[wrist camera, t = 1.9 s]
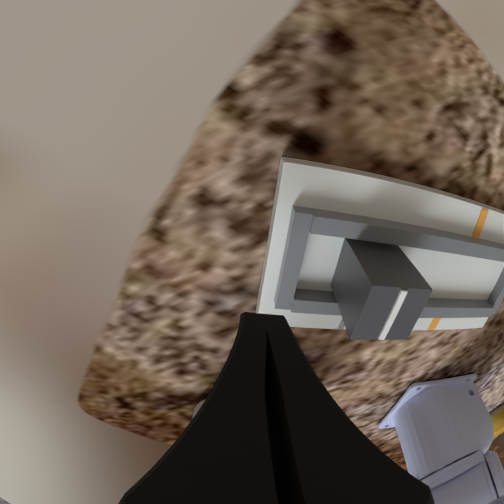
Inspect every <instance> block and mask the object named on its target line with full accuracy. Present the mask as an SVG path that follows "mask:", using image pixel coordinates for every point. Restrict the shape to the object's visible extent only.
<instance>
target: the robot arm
mask: <svg viewBox="0 0 504 504" xmlns="http://www.w3.org/2000/svg"><path fill="white" fill-rule="evenodd" d="M476 378H477V375H476V374H470V375H464V376H459V377H453V378H447V379H441V380H434V381H426V382H419V383H414V384H412V385H410V386H409V388H408V389H407V390H406V392H405V393H404V394H403V396H402V397H401V398H400V399H399V401H398V402H397V403H396V404H395V406H394V407H393V408H392V409H391V410H390V412H389V413H388V414H387V415H386V416H385V417H384V419H383V420H382V421H381V422H380V423H379V424H378V428H379V429H383V428H390V427H396V430H397V434H398V437H399V440H400V444H401V447H402V450H403V454H404V457H405V461H406V465H407V468H408V472H409V473H408V472H407V471H405V470H404V469H403V468H401V467H400V466H399V465H397V464H396V463H395V462H394V461H393V460H391V459H390V458H389V457H388V456H386V455H385V454H384V453H383V452H382V451H381V450H380V449H379V448H378V447H377V446H376V445H375V444H373V443H372V442H371V441H370V440H369V439H368V438H367V437H366V436H365V435H364V434H363V433H362V432H361V431H360V430H359V429H358V428H357V427H356V426H355V424H354V423H353V422H352V421H351V420H350V419H349V418H348V417H347V415H346V414H345V413H344V412H343V411H342V409H341V408H340V407H339V406H338V404H337V403H336V402H335V400H334V399H333V398H332V396H331V395H330V394H329V392H328V391H327V389H326V388H325V387H324V385H323V384H322V382H321V381H320V379H319V378H318V376H317V375H316V373H315V372H314V370H313V368H312V367H311V365H310V363H309V362H308V360H307V358H306V357H305V355H304V353H303V351H302V350H301V348H300V346H299V344H298V342H297V340H296V338H295V336H294V334H293V332H292V330H291V328H290V326H289V324H288V322H287V320H286V318H285V317H284V315H273V314H261V313H249V312H244V313H242V314H241V315H240V323H239V329H238V332H237V336H236V339H235V341H234V344H233V347H232V349H231V351H230V354H229V356H228V359H227V361H226V363H225V365H224V367H223V369H222V371H221V373H220V375H219V377H218V379H217V381H216V383H215V385H214V386H213V388H212V390H211V391H210V393H209V395H208V396H207V398H206V400H205V401H204V403H203V404H202V406H201V407H200V409H199V411H198V412H197V414H196V415H195V416H194V418H193V419H192V420H191V422H190V423H189V425H188V426H187V427H186V429H185V430H184V431H183V433H182V434H181V435H180V437H179V438H178V439H177V440H176V441H175V443H174V444H173V445H172V446H171V447H170V448H169V450H168V451H167V452H166V453H165V454H164V455H163V456H162V457H161V459H160V460H159V461H158V462H157V463H156V464H155V465H154V466H153V467H152V469H150V470H149V471H148V472H147V473H146V474H145V475H144V476H143V477H142V478H141V479H140V480H139V481H138V482H137V483H136V484H135V485H134V486H132V487H131V488H130V489H129V490H128V491H127V492H126V493H125V494H124V496H123V497H122V499H121V500H120V502H119V504H504V470H503V467H502V465H501V462H500V459H499V457H498V454H497V452H492V451H488V452H487V453H485V452H486V451H487V450H488V449H489V447H490V445H491V443H492V440H493V435H494V426H493V422H492V419H491V417H490V415H489V413H488V410H487V408H486V406H485V404H484V402H483V400H482V398H481V396H480V394H479V392H478V390H477V388H476V386H475V385H474V383H473V382H474V380H475V379H476ZM484 453H485V455H486V457H485V455H484ZM486 458H487V460H486ZM487 461H488V463H487ZM0 504H9V503H8V502H6V501H5V500H3V499H2V498H0Z"/></svg>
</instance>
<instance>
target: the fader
mask: <svg viewBox="0 0 504 504" xmlns="http://www.w3.org/2000/svg"><path fill="white" fill-rule="evenodd" d="M331 288H332V290H333V293H334V296H335V299H336V302H337V304H338V307H339V310H340V313H341V316H342V319H343V322H344V324H345V327H346V330H347V333H348V336H349V339H354V340H396V339H407V338H408V336H409V335H410V333H411V331H412V329H413V328H414V326H415V324H416V322H417V320H418V318H419V316H420V314H421V313H422V311H423V309H424V307H425V305H426V303H427V301H428V299H429V297H430V295H431V293H432V290H433V289H432V288H431V287H430V285H429V284H428V283H427V281H426V280H425V279H424V278H423V276H422V275H421V274H420V272H419V271H418V270H417V268H416V267H415V266H414V265H413V263H412V262H411V261H410V260H409V258H408V257H407V256H406V255H405V253H404V252H403V251H402V250H401V249H400V247H399V246H398V245H393V244H385V243H378V242H371V241H364V240H356V239H349V238H344V241H343V245H342V249H341V252H340V255H339V259H338V262H337V266H336V269H335V272H334V275H333V279H332V282H331Z"/></svg>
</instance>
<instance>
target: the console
mask: <svg viewBox="0 0 504 504" xmlns="http://www.w3.org/2000/svg"><path fill="white" fill-rule="evenodd" d="M344 238H349V239H356V240H364V241H371V242H378V243H385V244H393V245H398V246H399V247H400V249H401V250H402V251H403V252H404V253H405V255H406V256H407V257H408V258H409V260H410V261H411V262H412V263H413V265H414V266H415V267H416V268H417V270H418V271H419V272H420V274H421V275H422V276H423V278H424V279H425V280H426V281H427V283H428V284H429V285H430V287H431V288H432V289H433V290H432V293H431V295H430V297H429V299H428V301H427V303H426V305H425V307H424V309H423V311H422V313H421V314H420V316H419V318H418V320H417V322H416V324H415V326H414V328H413V329H412V330H445V329H468V328H482V327H483V326H484V324H485V322H486V321H487V319H488V317H490V315H494V314H495V312H496V310H497V309H498V307H499V305H500V303H501V302H502V300H503V298H504V211H503V210H500V209H498V208H495V207H492V206H489V205H486V204H483V203H480V202H477V201H474V200H471V199H468V198H465V197H462V196H459V195H455V194H452V193H449V192H445V191H442V190H438V189H435V188H431V187H428V186H424V185H420V184H416V183H412V182H409V181H405V180H401V179H396V178H392V177H388V176H384V175H379V174H375V173H370V172H366V171H361V170H356V169H351V168H346V167H341V166H336V165H330V164H325V163H319V162H313V161H307V160H301V159H295V158H288V157H281V160H280V167H279V173H278V179H277V186H276V192H275V198H274V204H273V211H272V217H271V223H270V229H269V235H268V241H267V247H266V253H265V259H264V265H263V271H262V277H261V283H260V289H259V295H258V301H257V306H256V313H261V314H273V315H284V317H285V318H286V320H287V322H288V324H289V326H290V327H303V328H321V329H346V327H345V324H344V322H343V319H342V316H341V313H340V310H339V307H338V304H337V302H336V299H335V296H334V293H333V290H332V288H331V282H332V279H333V275H334V272H335V269H336V266H337V262H338V259H339V255H340V252H341V249H342V245H343V241H344Z"/></svg>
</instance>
